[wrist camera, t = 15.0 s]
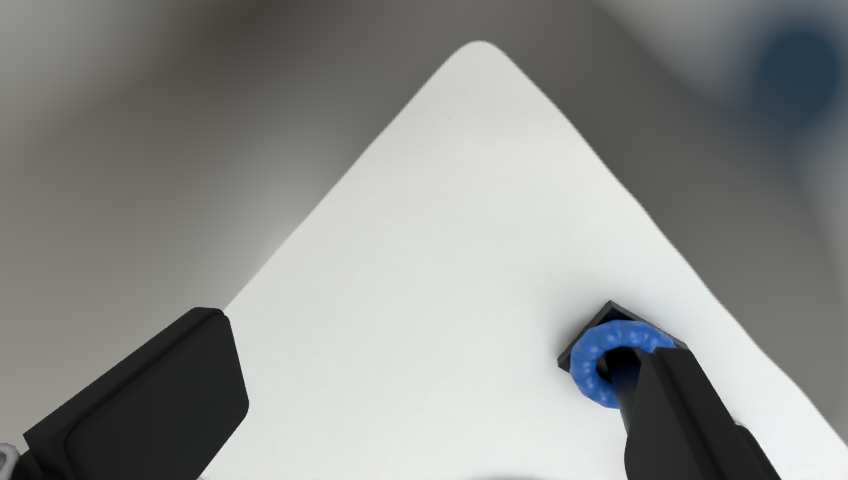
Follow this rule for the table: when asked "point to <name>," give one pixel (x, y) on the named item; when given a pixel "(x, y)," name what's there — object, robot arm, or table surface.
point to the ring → (604, 340)
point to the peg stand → (617, 360)
